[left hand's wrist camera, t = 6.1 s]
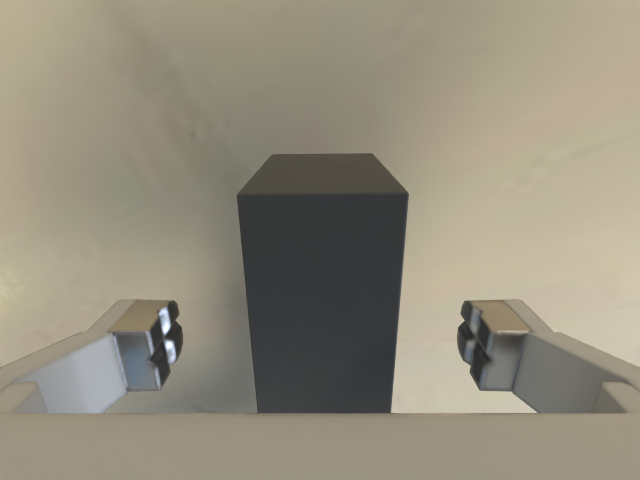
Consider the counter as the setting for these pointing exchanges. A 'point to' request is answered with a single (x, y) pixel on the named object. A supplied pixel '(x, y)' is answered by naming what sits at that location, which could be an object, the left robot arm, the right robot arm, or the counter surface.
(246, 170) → the counter surface
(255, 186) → the bar
